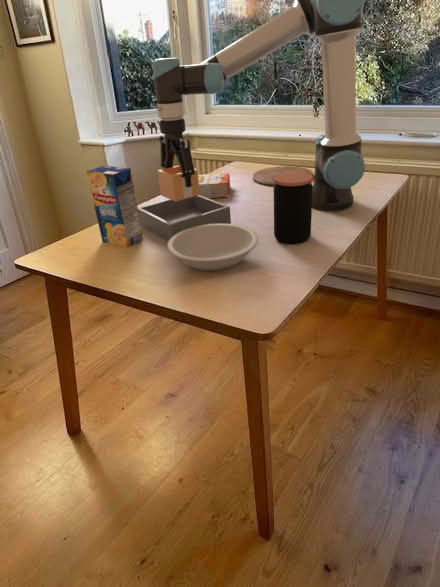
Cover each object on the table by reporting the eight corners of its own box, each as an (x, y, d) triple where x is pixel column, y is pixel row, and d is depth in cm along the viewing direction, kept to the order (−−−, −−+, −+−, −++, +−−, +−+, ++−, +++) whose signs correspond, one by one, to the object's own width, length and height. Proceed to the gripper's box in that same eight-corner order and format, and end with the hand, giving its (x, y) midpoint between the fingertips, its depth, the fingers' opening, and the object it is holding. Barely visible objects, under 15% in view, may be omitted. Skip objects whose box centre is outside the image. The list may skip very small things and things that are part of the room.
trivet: (244, 176, 190) (244, 171, 189) (296, 167, 195) (296, 163, 194) (266, 191, 169) (266, 186, 168) (324, 181, 174) (324, 176, 174)
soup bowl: (179, 245, 129) (176, 224, 125) (260, 243, 126) (259, 221, 122) (162, 285, 108) (158, 261, 105) (258, 283, 105) (257, 259, 102)
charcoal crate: (231, 224, 140) (229, 206, 137) (172, 244, 130) (170, 225, 126) (194, 208, 156) (192, 192, 153) (139, 225, 145) (136, 208, 142)
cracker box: (228, 181, 161) (173, 185, 162) (229, 197, 164) (175, 201, 165) (229, 171, 173) (177, 175, 175) (230, 186, 176) (179, 190, 178)
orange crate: (199, 194, 137) (197, 169, 133) (175, 201, 132) (172, 175, 128) (184, 189, 143) (182, 164, 139) (161, 195, 139) (157, 170, 135)
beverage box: (128, 247, 130) (113, 174, 119) (102, 241, 135) (86, 171, 124) (143, 239, 135) (130, 168, 123) (117, 233, 140) (103, 165, 129)
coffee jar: (317, 235, 127) (320, 174, 118) (297, 248, 121) (298, 185, 111) (287, 228, 134) (288, 170, 125) (266, 240, 127) (265, 179, 118)
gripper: (143, 116, 132) (153, 189, 143) (180, 123, 116) (188, 204, 128) (164, 113, 136) (172, 184, 147) (203, 119, 120) (209, 198, 131)
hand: (179, 193), depth 137 cm, fingers closed on orange crate, 9 cm apart
